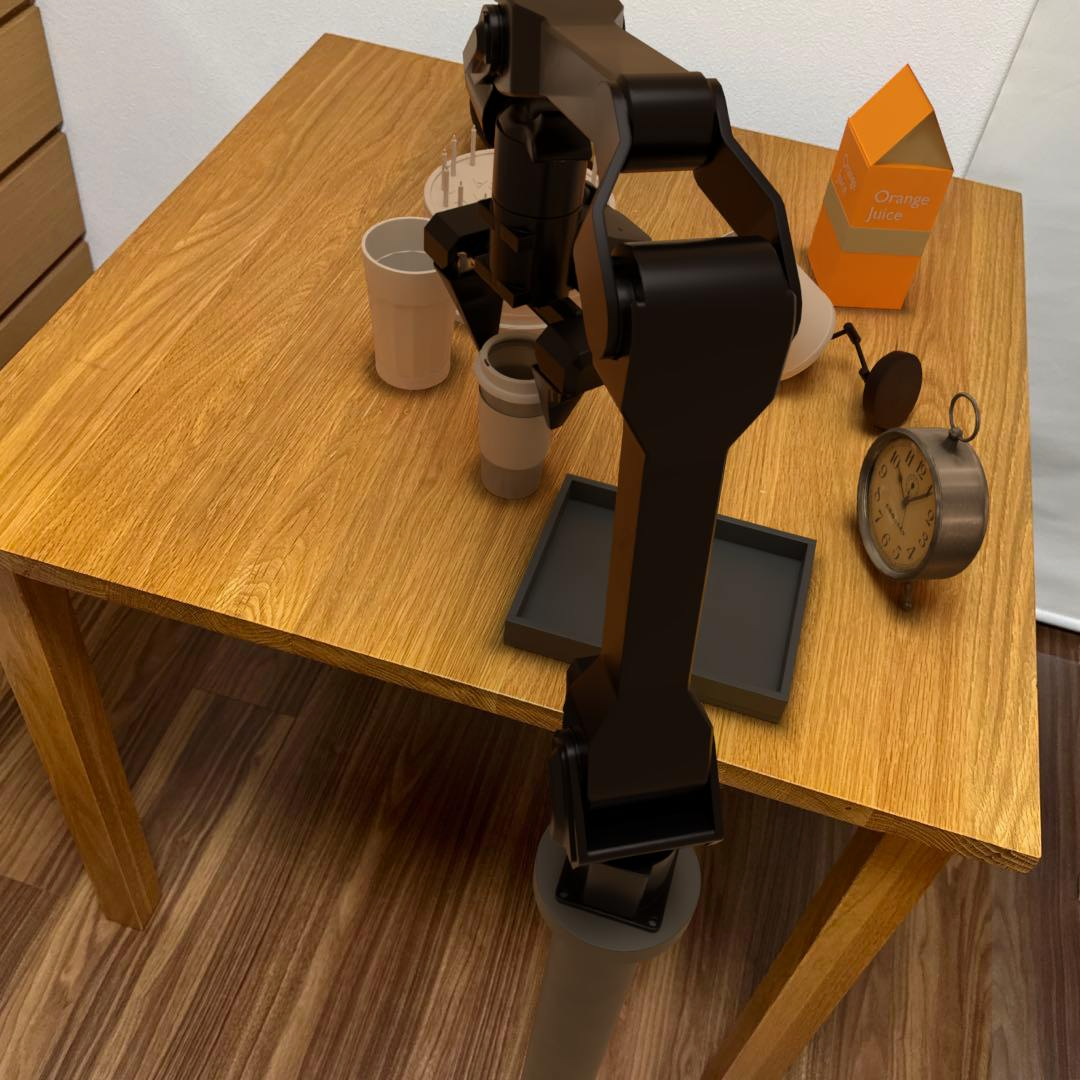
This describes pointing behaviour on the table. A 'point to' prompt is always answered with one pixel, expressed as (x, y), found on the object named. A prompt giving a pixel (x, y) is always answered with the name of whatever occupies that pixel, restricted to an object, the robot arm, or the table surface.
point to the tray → (727, 613)
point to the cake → (469, 184)
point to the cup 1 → (407, 305)
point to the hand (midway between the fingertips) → (519, 389)
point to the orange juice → (881, 198)
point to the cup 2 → (510, 416)
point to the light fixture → (890, 378)
